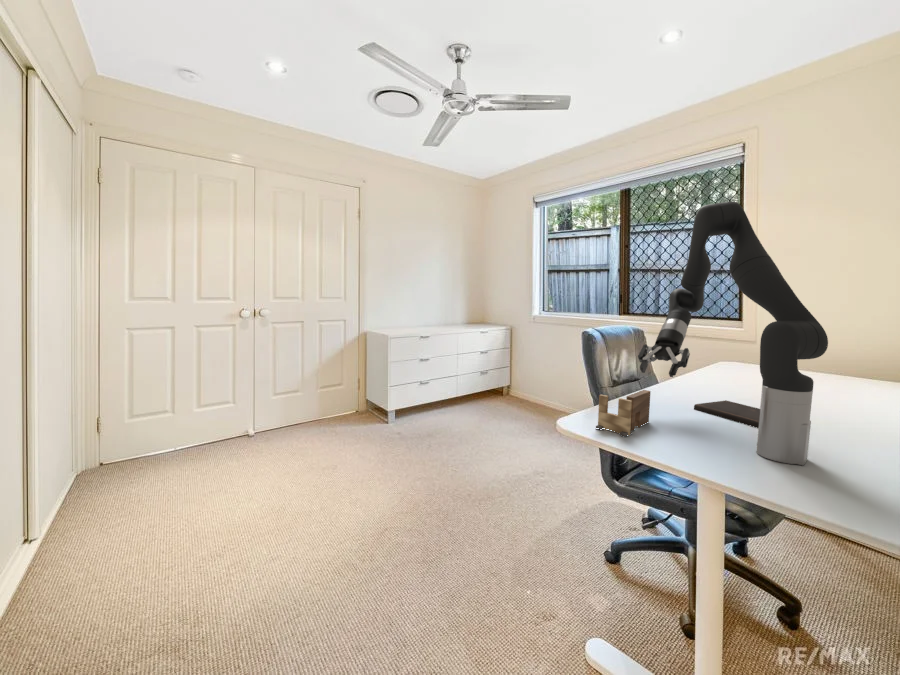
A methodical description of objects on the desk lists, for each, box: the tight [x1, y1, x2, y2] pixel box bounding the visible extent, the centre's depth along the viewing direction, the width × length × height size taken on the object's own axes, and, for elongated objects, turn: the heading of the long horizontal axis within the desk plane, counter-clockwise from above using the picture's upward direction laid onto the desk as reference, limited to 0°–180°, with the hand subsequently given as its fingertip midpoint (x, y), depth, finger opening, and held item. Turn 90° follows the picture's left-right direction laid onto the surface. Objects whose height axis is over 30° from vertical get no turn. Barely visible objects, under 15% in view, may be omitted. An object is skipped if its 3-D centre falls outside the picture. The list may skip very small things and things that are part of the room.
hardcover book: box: [693, 400, 760, 429], centre depth 128 cm, size 16×23×2 cm
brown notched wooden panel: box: [625, 389, 651, 431], centre depth 118 cm, size 2×12×10 cm, turn 132°
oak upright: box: [595, 394, 633, 437], centre depth 113 cm, size 9×4×10 cm, turn 42°
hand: (656, 373), depth 125 cm, fingers open, 8 cm apart
